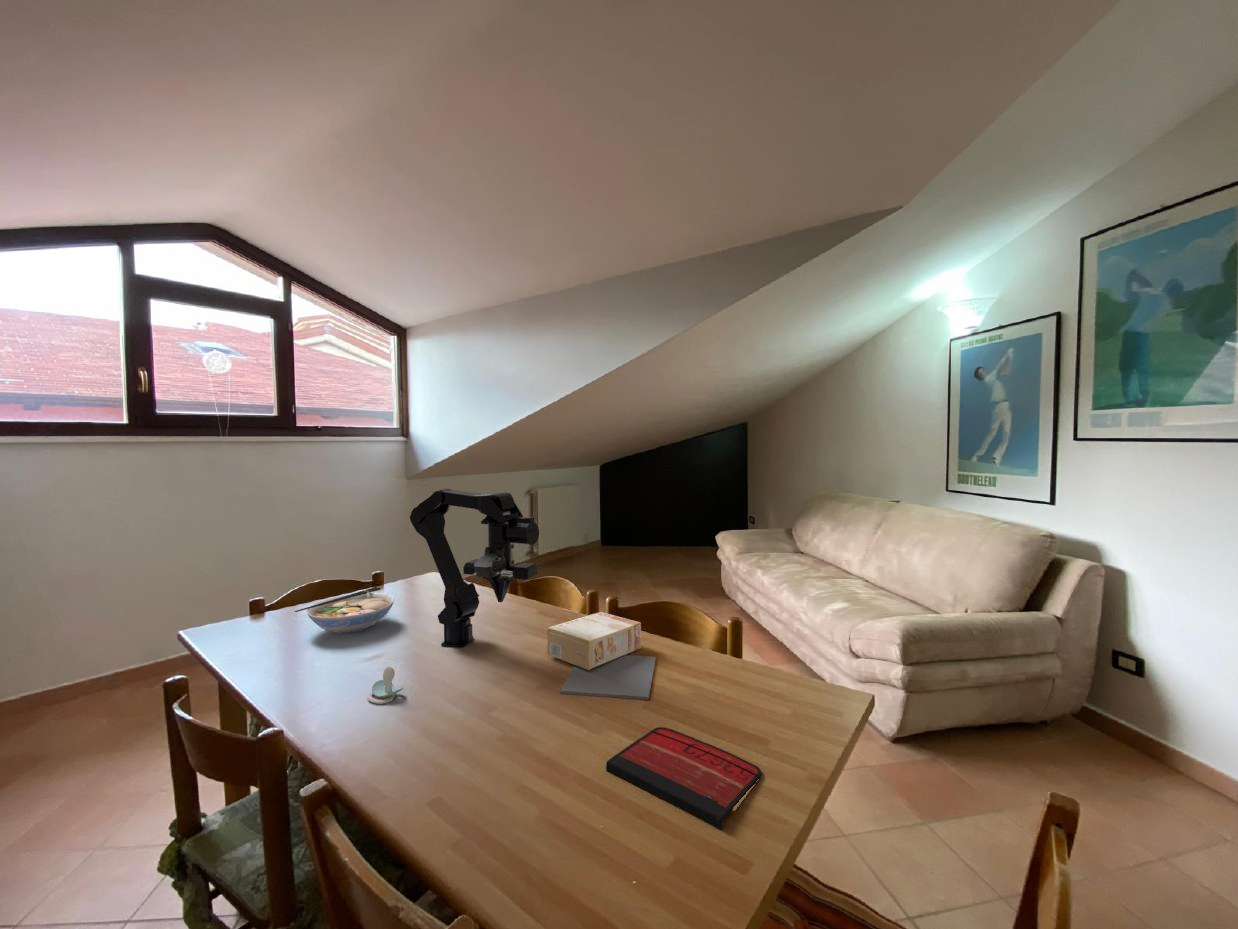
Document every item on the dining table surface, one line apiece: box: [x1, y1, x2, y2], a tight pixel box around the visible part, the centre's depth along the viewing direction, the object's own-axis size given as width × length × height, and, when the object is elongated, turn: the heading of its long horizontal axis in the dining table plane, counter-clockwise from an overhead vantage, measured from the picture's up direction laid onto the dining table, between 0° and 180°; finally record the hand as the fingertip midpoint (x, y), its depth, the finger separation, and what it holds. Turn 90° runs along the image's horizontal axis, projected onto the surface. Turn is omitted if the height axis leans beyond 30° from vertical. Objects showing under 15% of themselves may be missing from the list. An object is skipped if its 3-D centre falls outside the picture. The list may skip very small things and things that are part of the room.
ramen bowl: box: [293, 586, 395, 634], centre depth 146 cm, size 25×23×8 cm
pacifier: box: [367, 666, 404, 705], centre depth 107 cm, size 7×6×6 cm
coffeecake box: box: [546, 611, 642, 670], centre depth 129 cm, size 15×7×20 cm
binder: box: [605, 726, 762, 831], centre depth 83 cm, size 16×2×21 cm
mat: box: [560, 654, 657, 701], centre depth 117 cm, size 19×20×1 cm
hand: (500, 601), depth 130 cm, fingers closed
